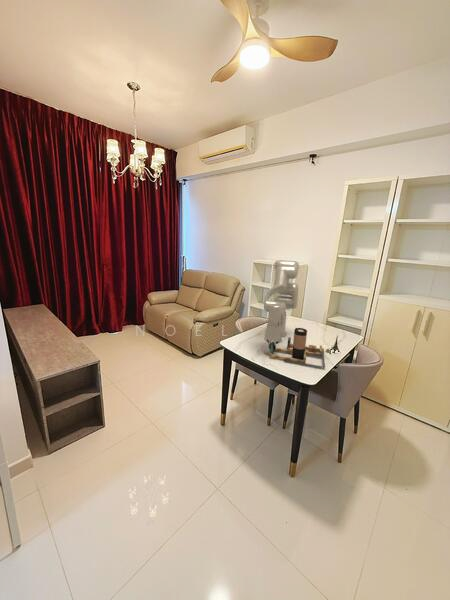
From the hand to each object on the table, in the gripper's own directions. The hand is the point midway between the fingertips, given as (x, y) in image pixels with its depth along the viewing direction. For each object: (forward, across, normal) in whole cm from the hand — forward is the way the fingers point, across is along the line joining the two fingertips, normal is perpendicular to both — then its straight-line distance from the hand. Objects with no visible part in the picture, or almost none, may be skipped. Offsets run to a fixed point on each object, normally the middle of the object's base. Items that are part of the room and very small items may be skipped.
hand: (272, 349), depth 161 cm
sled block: (+4, +20, +12) cm, 24 cm away
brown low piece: (+4, +10, 0) cm, 11 cm away
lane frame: (+4, +20, +6) cm, 21 cm away
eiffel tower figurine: (+4, +40, +23) cm, 46 cm away
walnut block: (+4, +25, +12) cm, 28 cm away
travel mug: (+4, +17, 0) cm, 17 cm away
